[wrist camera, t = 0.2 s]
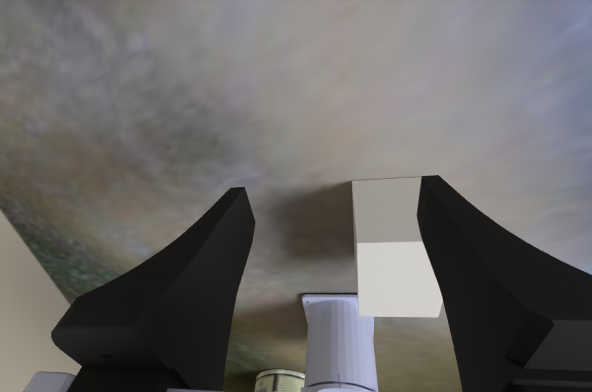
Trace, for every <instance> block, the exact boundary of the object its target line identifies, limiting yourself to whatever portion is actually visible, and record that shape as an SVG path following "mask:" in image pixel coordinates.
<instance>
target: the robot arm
mask: <svg viewBox="0 0 592 392" xmlns="http://www.w3.org/2000/svg"><path fill="white" fill-rule="evenodd" d="M416 216H417V220H418V225H419V230H420V234H421V238H422V241H423V244H424V247H425V250H426V252H427V255H428V258H429V261H430V263H431V266H432V269H433V272H434V274H435V277H436V280H437V283H438V285H439V288H440V292H441V295H442V298H443V302H444V307H445V311H446V315H447V319H448V323H449V327H450V332H451V336H452V341H453V345H454V350H455V355H456V360H457V365H458V369H459V374H460V380H461V385H462V390H463V392H592V275H590V274H588V273H586V272H584V271H582V270H579V269H577V268H575V267H573V266H571V265H569V264H567V263H565V262H562V261H560V260H558V259H556V258H554V257H553V256H551V255H549V254H547V253H545V252H543V251H541V250H539V249H537V248H536V247H534V246H532V245H530V244H529V243H527V242H525V241H523V240H522V239H520V238H519V237H517V236H515V235H514V234H512V233H511V232H509V231H507V230H506V229H504V228H503V227H501V226H500V225H498V224H497V223H496V222H494V221H493V220H492V219H490V218H489V217H487V216H486V215H485V214H483V213H482V212H481V211H480V210H478V209H477V208H476V207H474V206H473V205H472V204H471V203H470V202H468V201H467V200H466V199H465V198H464V197H462V196H461V195H460V194H459V193H458V192H457V191H456V190H454V189H453V188H452V187H451V186H450V185H449V184H448V183H447V182H445V181H444V180H443V179H442V178H441V177H440V176H439V175H434V176H422V178H421V185H420V193H419V200H418V208H417V215H416ZM254 228H255V219H254V216H253V213H252V209H251V206H250V203H249V200H248V196H247V193H246V190H245V187H236V188H230V189H229V190H228V191H227V192H226V193H225V194H224V195H223V196H222V197H221V198H220V199H219V200H218V201H217V202H216V203H215V204H214V205H213V206H212V207H211V208H210V209H209V210H208V211H207V212H206V213H205V214H204V215H203V216H202V217H201V218H200V219H199V220H198V221H197V222H196V223H194V224H193V225H192V226H191V227H190V228H189V229H188V230H187V231H186V232H184V233H183V234H182V235H181V236H180V237H178V238H177V239H176V240H175V241H173V242H172V243H171V244H169V245H168V246H167V247H165V248H164V249H163V250H161V251H160V252H158V253H157V254H155V255H154V256H152V257H151V258H149V259H148V260H146V261H145V262H143V263H142V264H140V265H139V266H137V267H135V268H134V269H132V270H130V271H129V272H127V273H125V274H123V275H121V276H120V277H118V278H116V279H114V280H112V281H110V282H108V283H106V284H104V285H102V286H100V287H98V288H96V289H94V290H92V291H90V292H88V293H86V294H84V295H81V296H79V297H77V298H76V299H75V301H74V302H73V304H72V305H71V306H70V308H69V309H68V310H67V312H66V313H65V314H64V316H63V317H62V318H61V320H60V321H59V323H58V324H57V325H56V327H55V328H54V329H53V331H52V332H51V338H52V340H53V342H54V344H55V345H56V346H57V347H58V348H59V349H60V350H62V351H63V352H64V353H66V354H67V355H68V356H70V357H71V358H72V359H73V360H75V361H76V362H77V363H79V364H80V365H81V366H82V368H81V369H80V371H79V372H78V374H77V376H75V375H73V374H70V373H62V372H41V371H40V372H37V373H36V374H35V375H34V377H33V378H32V379H31V381H30V382H29V384H28V385H27V386H26V388H25V389H24V391H23V392H222V388H223V379H224V370H225V362H226V355H227V348H228V341H229V335H230V329H231V323H232V317H233V311H234V306H235V301H236V296H237V292H238V288H239V285H240V281H241V278H242V275H243V272H244V268H245V265H246V262H247V258H248V255H249V252H250V248H251V245H252V241H253V235H254ZM302 302H303V306H304V311H305V315H306V319H307V324H308V335H307V350H306V365H305V381H304V387H301V392H378V385H377V375H376V365H375V356H374V346H373V332H374V316H359V313H358V299H357V295H326V294H306V295H303V296H302Z"/></svg>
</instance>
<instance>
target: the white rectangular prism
mask: <svg viewBox="0 0 592 392" xmlns="http://www.w3.org/2000/svg"><path fill="white" fill-rule="evenodd" d="M421 178H422V177H412V178H395V179H377V180H360V181H352V199H353V230H354V256H355V270H356V285H357V299H358V313H359V316H379V317H438V316H439V313H440V309H441V305H442V302H443V298H442V295H441V292H440V288H439V285H438V283H437V280H436V277H435V274H434V272H433V269H432V266H431V263H430V261H429V258H428V255H427V252H426V250H425V247H424V244H423V241H422V238H421V234H420V230H419V225H418V220H417V216H416V215H417V208H418V200H419V193H420V185H421Z"/></svg>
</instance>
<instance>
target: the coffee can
mask: <svg viewBox="0 0 592 392" xmlns="http://www.w3.org/2000/svg"><path fill="white" fill-rule="evenodd" d="M304 381H305V374H303V373H300V372H297V371H292V370H284V369H271V370H266V371H263V372H261V373H259V374H258V375H257V377H256V385H255V390H254V392H301V387H304Z"/></svg>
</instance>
